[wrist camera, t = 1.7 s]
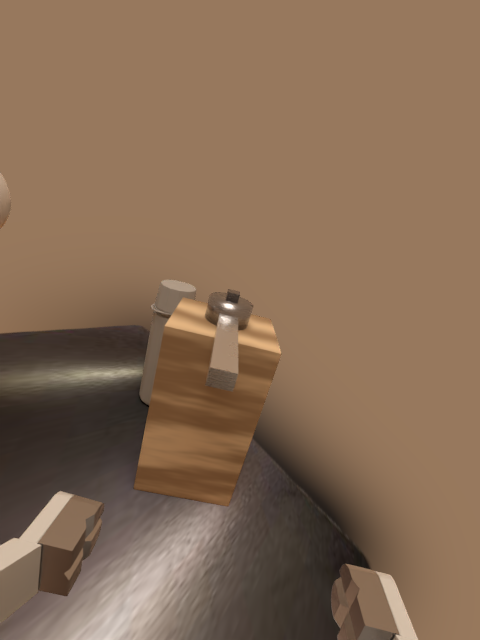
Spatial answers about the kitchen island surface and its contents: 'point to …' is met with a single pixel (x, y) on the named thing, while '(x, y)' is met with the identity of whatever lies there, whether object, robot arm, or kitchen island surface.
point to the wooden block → (203, 408)
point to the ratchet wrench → (226, 336)
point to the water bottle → (161, 328)
